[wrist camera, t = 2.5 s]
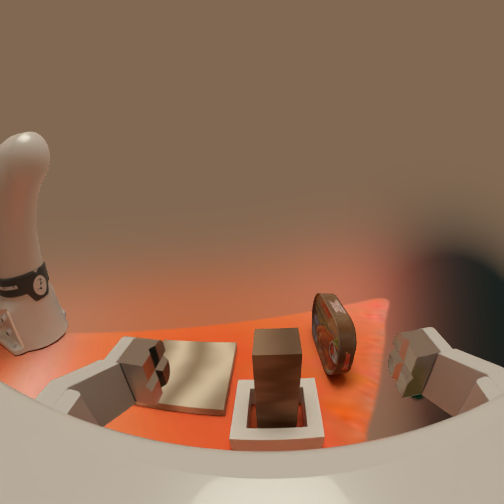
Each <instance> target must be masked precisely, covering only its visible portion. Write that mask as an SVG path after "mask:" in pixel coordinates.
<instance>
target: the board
mask: <svg viewBox="0 0 504 504" xmlns="http://www.w3.org/2000/svg"><path fill="white" fill-rule="evenodd" d="M163 343H164V347H165V352H164V354H163V355H164V356H165V357H166V358H167V359H168V361H169V365H170V376H169V380H168V383H167V384H166V385H165V386H163V387H162V391H163V394H162V396H161V398H160V400H159V402H158V405H152V404H145V403H139V402H136V403H135V405H140V406H145V407H151V408H157V409H163V410H170V411H177V412H185V413H194V414H205V415H218V416H225V412H226V406H227V401H228V395H229V390H230V384H231V379H232V373H233V368H234V362H235V357H236V352H237V344H236V343H230V342H194V341H175V340H164V341H163Z"/></svg>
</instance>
